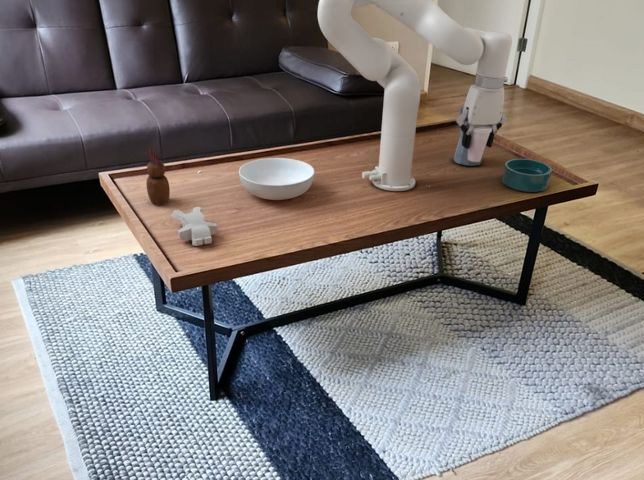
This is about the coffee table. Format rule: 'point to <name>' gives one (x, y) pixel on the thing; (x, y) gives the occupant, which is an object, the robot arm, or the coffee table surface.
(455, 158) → the moka pot
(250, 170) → the serving bowl
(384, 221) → the coffee table surface
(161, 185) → the wooden figurine
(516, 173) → the bowl
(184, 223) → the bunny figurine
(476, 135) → the smoothie
